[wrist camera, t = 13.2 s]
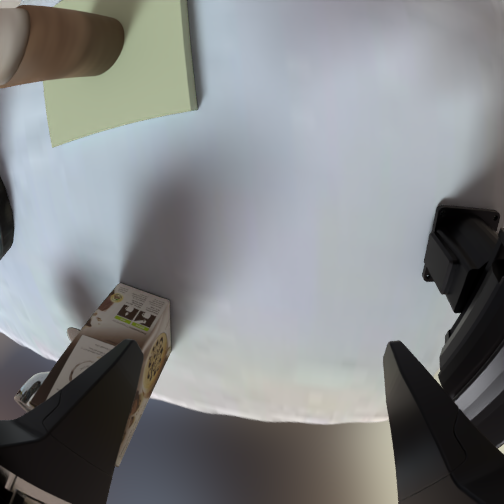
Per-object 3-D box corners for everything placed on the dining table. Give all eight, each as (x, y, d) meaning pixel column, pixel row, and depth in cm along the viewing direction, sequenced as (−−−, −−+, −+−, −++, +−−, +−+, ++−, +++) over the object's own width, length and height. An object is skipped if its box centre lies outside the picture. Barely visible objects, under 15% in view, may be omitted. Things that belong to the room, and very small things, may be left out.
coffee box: (117, 280, 27) (25, 401, 13) (172, 299, 27) (91, 444, 13) (126, 336, 32) (63, 440, 18) (172, 353, 31) (118, 470, 18)
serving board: (183, -50, 10) (177, -56, 9) (197, 109, 17) (191, 110, 16) (50, 15, 13) (42, 15, 12) (61, 144, 20) (52, 147, 19)
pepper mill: (104, 6, 12) (-1, -8, 4) (136, 38, 14) (20, 27, 5) (67, 54, 14) (-35, 66, 6) (94, 88, 16) (-17, 111, 7)
